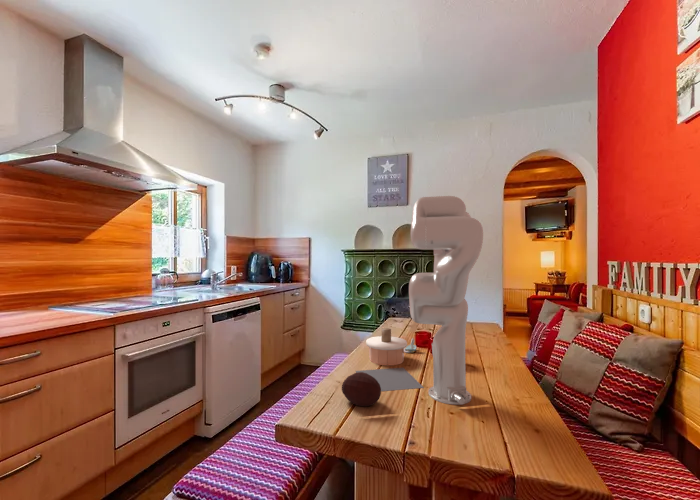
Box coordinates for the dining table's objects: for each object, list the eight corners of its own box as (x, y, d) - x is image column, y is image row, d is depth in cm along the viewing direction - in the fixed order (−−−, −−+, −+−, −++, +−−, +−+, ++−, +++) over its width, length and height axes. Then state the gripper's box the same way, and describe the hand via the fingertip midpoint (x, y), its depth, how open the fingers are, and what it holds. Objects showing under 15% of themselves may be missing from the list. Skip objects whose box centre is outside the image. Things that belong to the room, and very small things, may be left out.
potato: (377, 415, 84) (376, 381, 85) (336, 408, 89) (336, 375, 89) (384, 401, 93) (384, 370, 93) (347, 395, 97) (347, 365, 97)
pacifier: (402, 353, 140) (416, 354, 139) (402, 339, 140) (415, 340, 139) (403, 349, 147) (416, 349, 146) (403, 335, 148) (416, 336, 146)
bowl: (408, 365, 124) (408, 347, 124) (374, 367, 121) (374, 349, 122) (396, 354, 138) (396, 338, 138) (366, 356, 135) (366, 340, 135)
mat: (424, 389, 101) (423, 387, 101) (367, 394, 98) (367, 392, 98) (403, 369, 120) (403, 367, 120) (355, 372, 116) (355, 370, 116)
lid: (413, 348, 123) (413, 333, 123) (372, 351, 120) (371, 335, 120) (398, 337, 140) (398, 324, 140) (361, 339, 136) (361, 325, 136)
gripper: (464, 251, 113) (465, 298, 112) (442, 252, 130) (442, 293, 129) (445, 251, 111) (446, 299, 111) (425, 252, 128) (425, 293, 128)
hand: (444, 295), depth 120 cm, fingers open, 9 cm apart
